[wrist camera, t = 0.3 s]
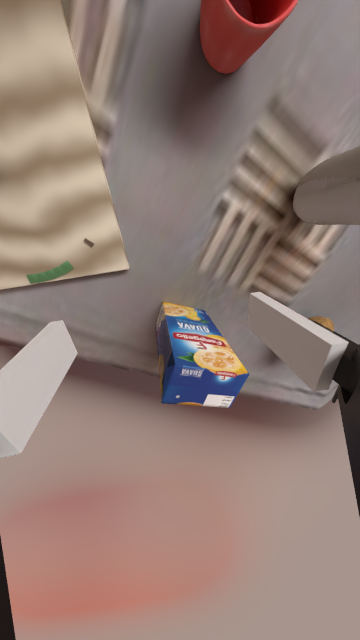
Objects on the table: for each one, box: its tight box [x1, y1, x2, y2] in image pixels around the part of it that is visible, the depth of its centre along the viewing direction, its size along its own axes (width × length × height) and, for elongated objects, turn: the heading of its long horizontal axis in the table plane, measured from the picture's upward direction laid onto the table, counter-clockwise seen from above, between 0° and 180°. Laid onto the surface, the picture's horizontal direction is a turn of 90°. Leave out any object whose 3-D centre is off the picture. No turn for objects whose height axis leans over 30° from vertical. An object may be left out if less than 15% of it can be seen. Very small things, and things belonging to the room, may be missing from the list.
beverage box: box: [156, 302, 249, 408], centre depth 34 cm, size 7×11×22 cm, turn 74°
